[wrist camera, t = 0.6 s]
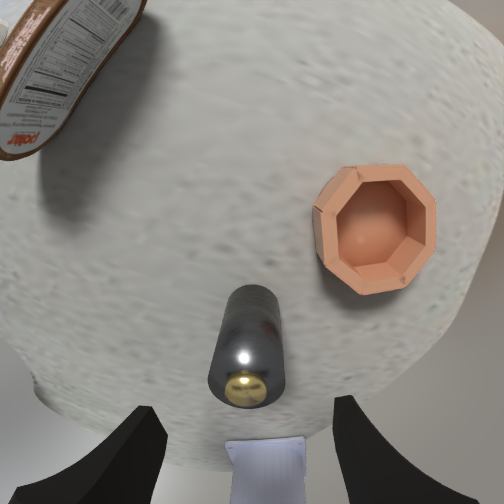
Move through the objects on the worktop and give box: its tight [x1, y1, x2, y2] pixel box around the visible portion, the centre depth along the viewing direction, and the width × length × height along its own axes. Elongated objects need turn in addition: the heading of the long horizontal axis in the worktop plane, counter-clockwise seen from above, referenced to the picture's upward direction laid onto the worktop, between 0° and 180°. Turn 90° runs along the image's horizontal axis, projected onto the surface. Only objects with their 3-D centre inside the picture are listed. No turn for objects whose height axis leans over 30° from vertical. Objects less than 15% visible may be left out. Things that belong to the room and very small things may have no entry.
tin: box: [0, 0, 147, 161], centre depth 10 cm, size 15×3×8 cm, turn 141°
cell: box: [208, 285, 285, 409], centre depth 15 cm, size 4×4×8 cm
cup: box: [312, 164, 436, 295], centre depth 15 cm, size 7×7×3 cm
